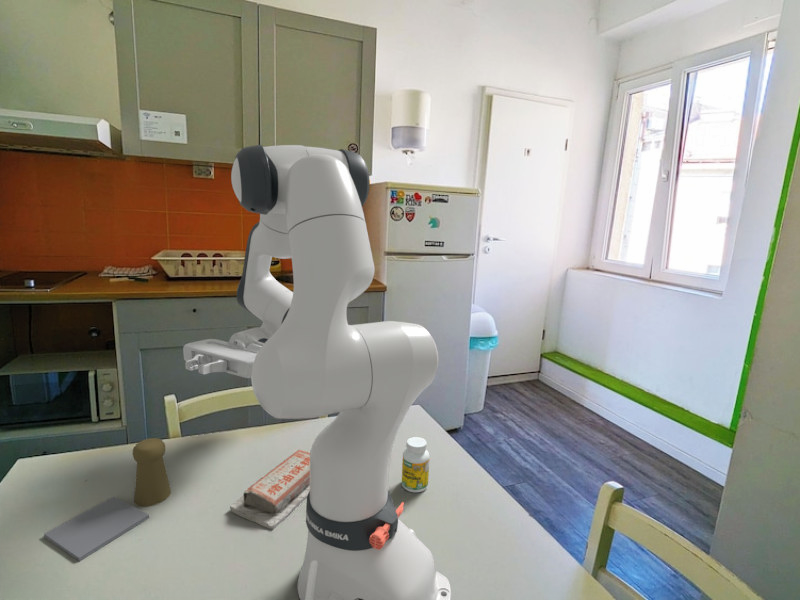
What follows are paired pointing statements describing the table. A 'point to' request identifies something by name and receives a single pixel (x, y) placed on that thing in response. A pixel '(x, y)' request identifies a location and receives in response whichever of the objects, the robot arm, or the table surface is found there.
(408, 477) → the supplement bottle
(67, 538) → the mat
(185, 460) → the table surface
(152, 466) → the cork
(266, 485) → the packaged product
